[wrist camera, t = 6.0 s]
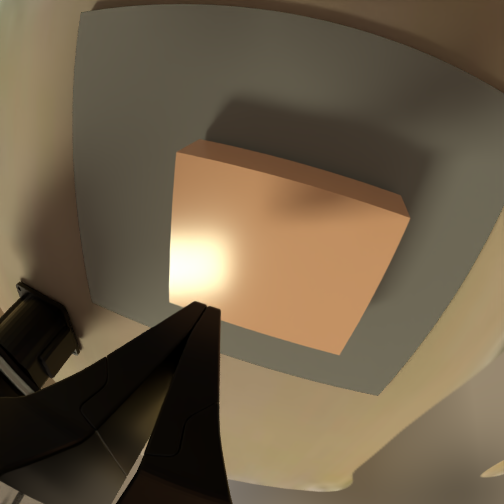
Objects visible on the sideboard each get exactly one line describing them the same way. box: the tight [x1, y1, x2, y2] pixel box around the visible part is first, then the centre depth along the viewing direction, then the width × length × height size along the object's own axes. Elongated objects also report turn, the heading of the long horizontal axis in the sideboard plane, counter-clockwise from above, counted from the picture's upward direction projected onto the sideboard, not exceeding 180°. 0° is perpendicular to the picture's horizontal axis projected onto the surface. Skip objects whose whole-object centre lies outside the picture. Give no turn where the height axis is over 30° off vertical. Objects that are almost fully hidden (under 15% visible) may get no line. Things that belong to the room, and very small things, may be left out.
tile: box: [169, 139, 410, 355], centre depth 13 cm, size 2×7×8 cm
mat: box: [73, 4, 504, 396], centre depth 14 cm, size 20×18×1 cm
